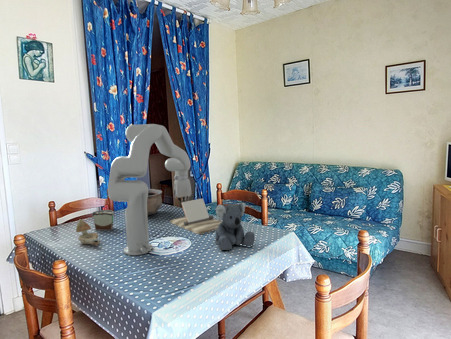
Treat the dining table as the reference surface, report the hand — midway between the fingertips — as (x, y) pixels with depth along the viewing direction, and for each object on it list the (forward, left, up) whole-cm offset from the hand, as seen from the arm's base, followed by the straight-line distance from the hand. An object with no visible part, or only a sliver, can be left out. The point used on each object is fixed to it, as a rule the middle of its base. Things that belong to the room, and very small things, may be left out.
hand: (183, 207), depth 190 cm
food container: (+13, +42, -7) cm, 45 cm away
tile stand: (-17, 0, -7) cm, 18 cm away
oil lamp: (-5, +56, -7) cm, 57 cm away
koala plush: (-53, +6, -7) cm, 54 cm away
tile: (-14, 0, 0) cm, 14 cm away
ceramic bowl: (+25, +13, -7) cm, 29 cm away
